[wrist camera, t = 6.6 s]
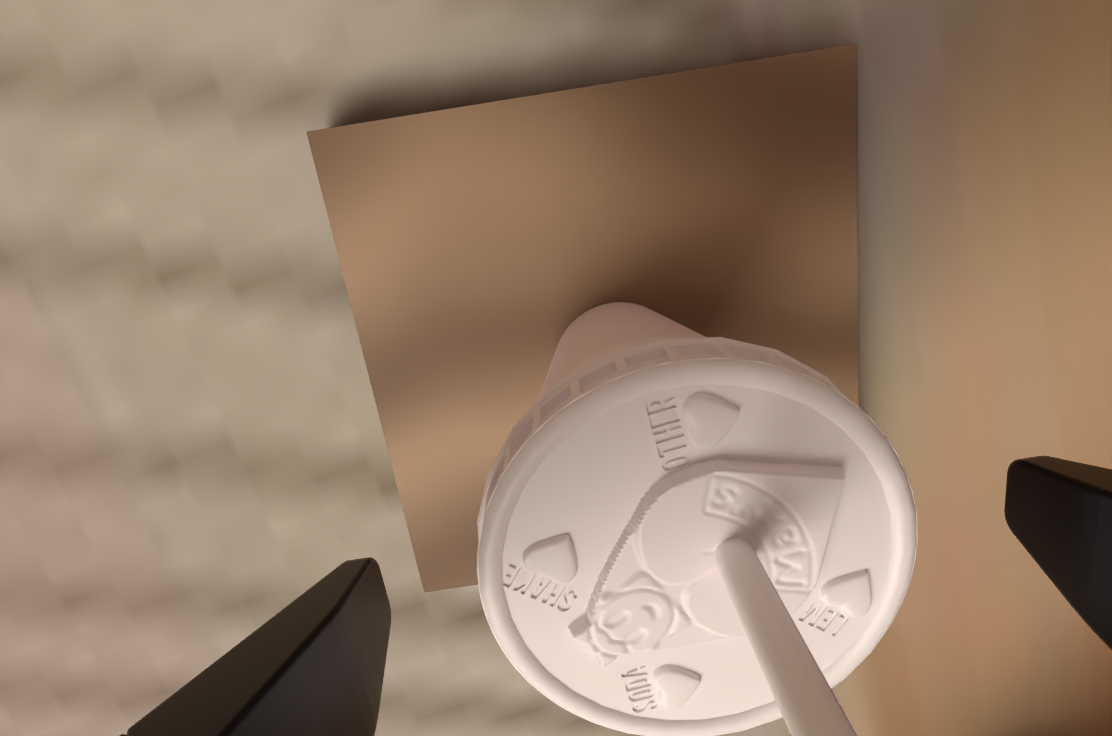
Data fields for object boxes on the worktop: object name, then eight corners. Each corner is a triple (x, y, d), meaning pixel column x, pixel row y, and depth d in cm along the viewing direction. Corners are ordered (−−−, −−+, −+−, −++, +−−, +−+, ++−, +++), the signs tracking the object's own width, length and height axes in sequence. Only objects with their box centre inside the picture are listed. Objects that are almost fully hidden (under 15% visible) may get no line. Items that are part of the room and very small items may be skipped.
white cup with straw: (772, 378, 18) (1389, 945, 5) (599, 505, 19) (728, 1241, 6) (639, 203, 17) (1026, 351, 3) (459, 352, 18) (222, 898, 5)
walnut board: (837, 503, 21) (859, 527, 20) (431, 564, 22) (424, 592, 20) (830, 53, 17) (857, 43, 16) (325, 134, 17) (306, 131, 16)
